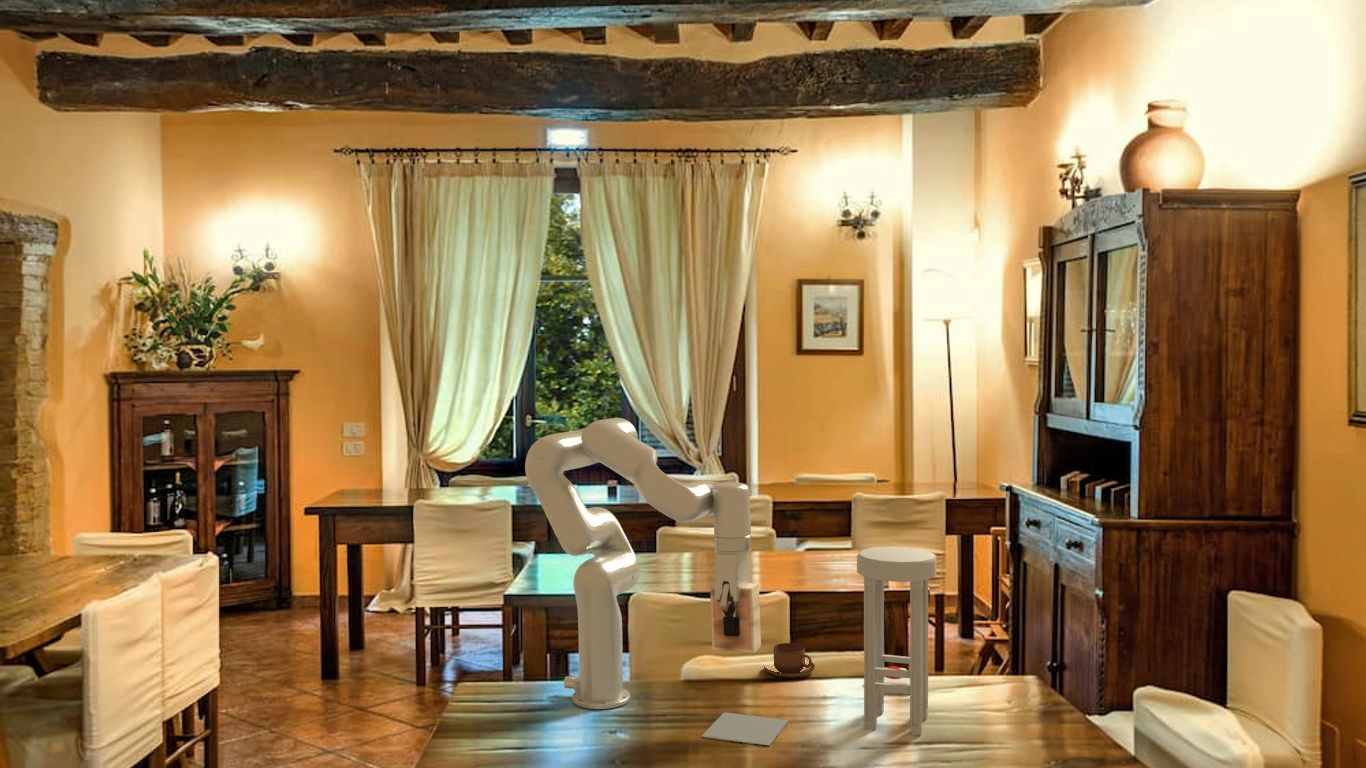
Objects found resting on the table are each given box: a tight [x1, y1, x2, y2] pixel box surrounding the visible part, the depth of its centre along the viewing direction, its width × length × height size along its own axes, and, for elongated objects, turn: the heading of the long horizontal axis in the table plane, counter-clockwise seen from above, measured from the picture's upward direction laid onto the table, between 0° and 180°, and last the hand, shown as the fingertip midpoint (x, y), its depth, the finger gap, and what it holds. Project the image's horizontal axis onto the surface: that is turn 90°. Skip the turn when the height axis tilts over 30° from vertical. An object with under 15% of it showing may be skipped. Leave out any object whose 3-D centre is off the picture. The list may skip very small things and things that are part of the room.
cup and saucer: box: [763, 642, 816, 678], centre depth 253 cm, size 12×12×6 cm
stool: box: [856, 545, 937, 736], centre depth 219 cm, size 16×16×35 cm
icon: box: [884, 665, 910, 695], centre depth 243 cm, size 12×4×10 cm
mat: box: [701, 712, 789, 746], centre depth 217 cm, size 14×14×1 cm
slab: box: [709, 582, 762, 653], centre depth 219 cm, size 9×4×13 cm, turn 68°
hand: (736, 631), depth 219 cm, fingers closed on slab, 4 cm apart
